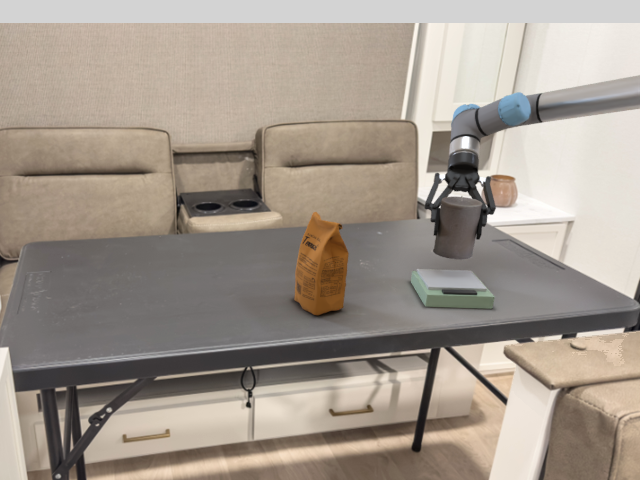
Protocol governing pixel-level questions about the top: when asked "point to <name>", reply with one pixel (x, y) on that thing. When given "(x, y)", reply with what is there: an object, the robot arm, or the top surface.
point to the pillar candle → (457, 227)
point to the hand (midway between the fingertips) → (457, 235)
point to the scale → (451, 289)
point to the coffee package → (321, 267)
